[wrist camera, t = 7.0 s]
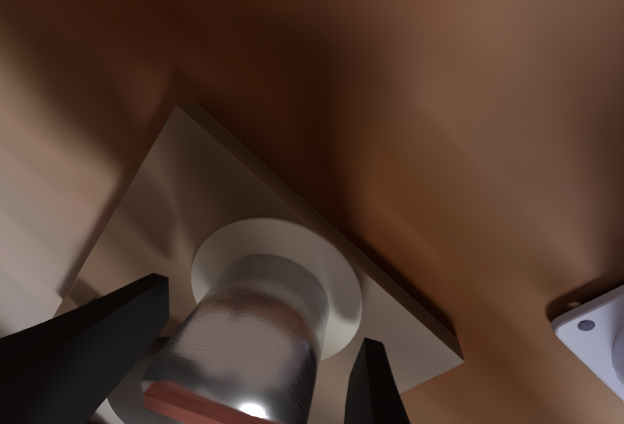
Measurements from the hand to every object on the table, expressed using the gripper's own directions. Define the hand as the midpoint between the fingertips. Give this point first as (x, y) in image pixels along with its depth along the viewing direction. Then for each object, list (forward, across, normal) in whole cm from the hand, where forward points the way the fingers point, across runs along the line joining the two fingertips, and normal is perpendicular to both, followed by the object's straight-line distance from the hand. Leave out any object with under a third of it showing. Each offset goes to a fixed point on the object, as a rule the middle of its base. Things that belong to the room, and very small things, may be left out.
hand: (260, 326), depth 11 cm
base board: (+3, +2, +4) cm, 5 cm away
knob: (+1, 0, 0) cm, 1 cm away
